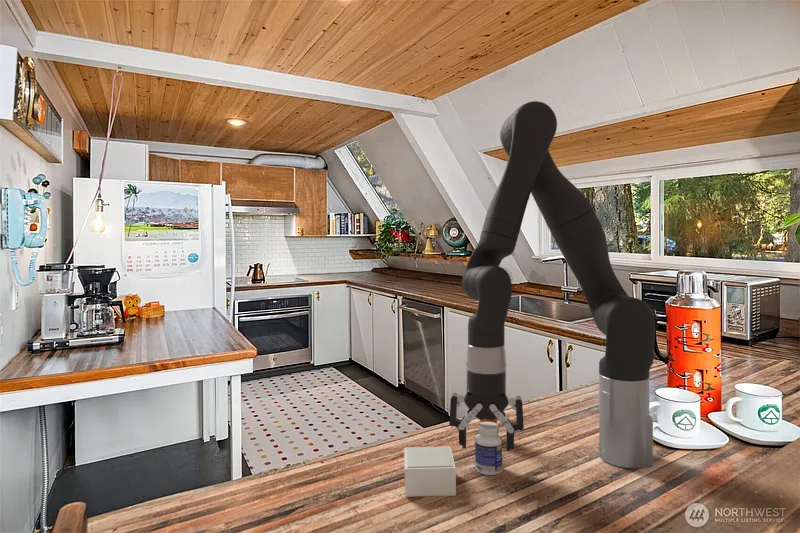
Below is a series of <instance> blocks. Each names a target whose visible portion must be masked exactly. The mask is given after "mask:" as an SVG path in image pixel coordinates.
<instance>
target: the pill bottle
mask: <svg viewBox="0 0 800 533" xmlns="http://www.w3.org/2000/svg"><path fill="white" fill-rule="evenodd" d="M477 431H478V432H477V433H478V434H476V435H475V438H474V445H475V447H474V449H475V451H474V455H475V456H474V457H475V458H474V461H475V464H474V465H475V468H474V469H475V470H476V471H477V473H479V474H482V475H485V476H495V475H496V476H497V475H498V474H499V475H500V474H501V473H502V471H503V439H502V436H500V434H499V432H500V428H499V424H498V423H497V424H496V423H494V422H481V423H480V422H479V423H478V425H477Z"/></svg>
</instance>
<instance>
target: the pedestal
mask: <svg viewBox="0 0 800 533" xmlns="http://www.w3.org/2000/svg"><path fill="white" fill-rule="evenodd" d="M403 451H404V452H403V454H404V455H403V456H404V493H405V495H404V496H405V497H406V498H407V497H408V498H409V497H412V498H413V497H450V496H454V497H455V496H457V476H456V473H457V472H456V470H457V469H456V465H455V464H456V463H455V460H454V456H453V452H452V451H453V450H452V448H451V446H419V447H418V446H416V447H414V446H412V447H411V446H410V447H409V446H408V447H404V450H403Z"/></svg>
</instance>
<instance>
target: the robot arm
mask: <svg viewBox="0 0 800 533" xmlns="http://www.w3.org/2000/svg"><path fill="white" fill-rule="evenodd" d="M557 120H558V119H557V116H556V113H555V112H554V110H553V108H552V107H550V106H549V105H548V104H547V103H545V102H541V101H538V100H537V101H536V100H535V101H528V102H526V103H523V104H522V105H521V106H519V107H518V108H516V109H515V110H514V111H513V112H512V113H511V114H510V115H509V116H508V117H507V118H506V119H505V120H504V122H503V123H502V126H501V128H500V132H499V139H500V142H501V145H502V147H503V150H504V152H505V153H506V154H507V156H508V159H507V163H506V166H505V168H504V172H503V175H502V177H501V179H500V182H499V184H498V186H497V188H496V190H495V193H494V194H493V197H492V199H491V201H490V203H489V206H488V209H487V212H486V215H485V218H484V222H483V226H482V230H481V233H480V236H479V240H478V243H477V245H476V246H475V248H474V250H473V251H472V254H471V255H470V256H469V259H468V261H467V263H466V266H465V268H464V270H463V273H462V274H463V275H462V280H461V281H462V282H461V283H462V289H463V292H464V293H465V294H466V296H468V297H469V298H470V299H473V300H477V301H478V305H477V311H476V313H474V314H472V315H470V316H469V318H468V323H467V343H468V344H467V350H466V351H467V352H466V362H465V364H466V365H465V366H466V394H465V395H460V394H457V393H456V392H452V394H451V396H450V406H449V426H450V427H455V428H457V429H458V443H459V446H461V447H462V449H467V426H468V425H469V423H471V422H472V421H473V420H474V419H475V418H476V419H477V420H480V419H489V420H494V419H496V418H498V420H497V421H499V422H500V424H501V425H502V426H503V427H504V428H505V430H506V432H505V434H506V437H505V438H506V440H505V441H506V444H505V445H506V446H505V448H506V452H511V449H512V450H513V449H514V447H515V433H516V432H518V431H520V432H521V431H523V430H524V429H525V426H524V413H523V412H524V411H523V410H524V409H523V401H522V397H521V396H520V395H517V396H516V397H508V396H507V387H506V386H507V382H506V380H507V378H506V376H507V374H506V373H507V358H506V357H507V355H506V348H505V347H506V346H505V325H506V324H505V322H506V319H507V317H508V314H509V308H510V305H511V304H510V303H511V300H512V294H513V284H512V279H511V276H510V274H509V272H508V271H507V270H506V269H505V268H503V267H501V266H500V265H501V263H502V261H503V259H505V258H507V257H509V256H510V255H512V254H513V253H514V251H515V248H516V246H517V242H518V239H519V238H518V237H519V235H520V230H521V228H522V223H523V220H524V215H525V212H526V208H527V205H528V202H529V200H530V198H531V197H530V196H532V198H533V200H534V201H535V204H536V206H537V208H538V210H539V212H540V213H541V216H542V217H543V220H544V221H545V223H546V225H547V229H548V230H549V232H550V234H551V236H552V238H553V240H554V241H555V244H556V246H557V247H558V249H559V250H560V252H561V254H562V255H563V257H564V260H565V261H566V263H567V265H568V267H569V268H570V270H571V271H572V273H573V275H574V277H575V278H576V280H577V282H578V283H579V286H580V288H581V290H582V293H583V295H584V298H585V300H586V303H587V306H588V309H589V311H590V314H591V316H592V319H593V321H594V324H595V326H596V327H597V329H598V330H599V331H600V332H601V333H602V334H603V335H605V352H604V353H605V354H604V356H603V357H601V358H600V359H599V362H598V379H599V380H598V382H599V383H598V390H599V391H598V395H599V396H598V397H599V398H598V404H599V406H598V408H599V409H598V410H599V411H598V413H599V414H598V415H599V418H598V419H599V420H598V422H599V424H598V425H599V426H598V427H599V428H598V429H599V430H598V432H599V433H598V434H599V435H598V436H599V437H598V438H599V441H598V449H599V450H598V452H599V453H598V454H599V458H600V459H601V460H603V461H604V462H606V463H608V464H610V465H611V466H615V467H619V468H625V469H640V468H644V467H653V466H654V437H653V436H654V418H653V417H652V416H651V414H650V370H651V368H652V365H653V363H654V358H655V341H656V339H655V338H656V321H655V316H654V313H653V309H652V308H651V306H649V304H648V303H647V302H646V301H644V300H642V299H640V298H637V297H634V296H630V295H629V294H628V293H627V292H626V289H624V287H623V286H622V284H621V283H620V280H619V279H618V277H617V275H616V274H615V272H614V270H613V267H612V265H611V261H610V255H609V254H610V253H609V250H608V249H609V248H608V243H607V238H606V233H605V231H604V228H603V226H602V223H601V222H600V220H599V217H598V216H597V214H596V212H595V210H594V207H593V206H592V204H591V202H590V201H589V200H588V198H587V197H586V196H585V194H584V193H583V192H582V191H581V190H580V189H579V188H577V186H576V185H574V184H573V183H572V182H571V181H570V180H569V179H568V178H567V177H566V176H565V175H564V174H563V173H562V172H561V170H560V169H559V167H557V165H556V163H555V162H554V159H553V157H552V155H551V153H550V151H549V149H550V147H551V145H552V142H553V140H554V138H555V135H556V133H557V130H558V128H557V127H558V121H557ZM462 403H464V405H466V407H467V410H466V412H465V413H464V415H463V416H462V417H461V419H459V418H458V417H457V415H458V414H457V412H458V407H461V405H462ZM509 405H510V406H511V409H512V410H514V411H515V416H516V421H513V422H512V421H511V420H510V417H508V414H507V413H506V412H505V409H506V408H507V407H508V406H509Z"/></svg>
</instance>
